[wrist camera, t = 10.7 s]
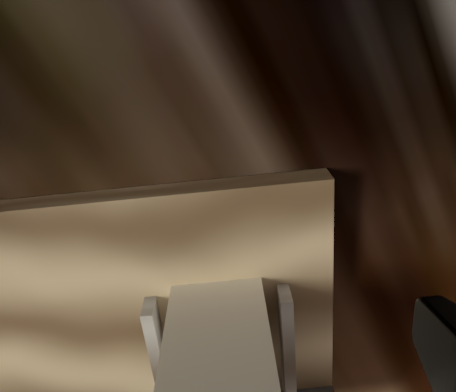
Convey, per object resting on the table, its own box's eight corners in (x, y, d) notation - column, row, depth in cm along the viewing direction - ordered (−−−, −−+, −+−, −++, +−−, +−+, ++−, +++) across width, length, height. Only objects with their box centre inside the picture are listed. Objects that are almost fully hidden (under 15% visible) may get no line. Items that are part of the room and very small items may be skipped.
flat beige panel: (-117, 211, 21) (-189, 254, 17) (326, 168, 20) (350, 201, 17) (-21, 412, 26) (-59, 476, 23) (325, 380, 26) (344, 440, 22)
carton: (261, 277, 21) (281, 393, 15) (268, 381, 24) (287, 515, 18) (170, 285, 21) (151, 404, 15) (189, 388, 24) (179, 525, 18)
